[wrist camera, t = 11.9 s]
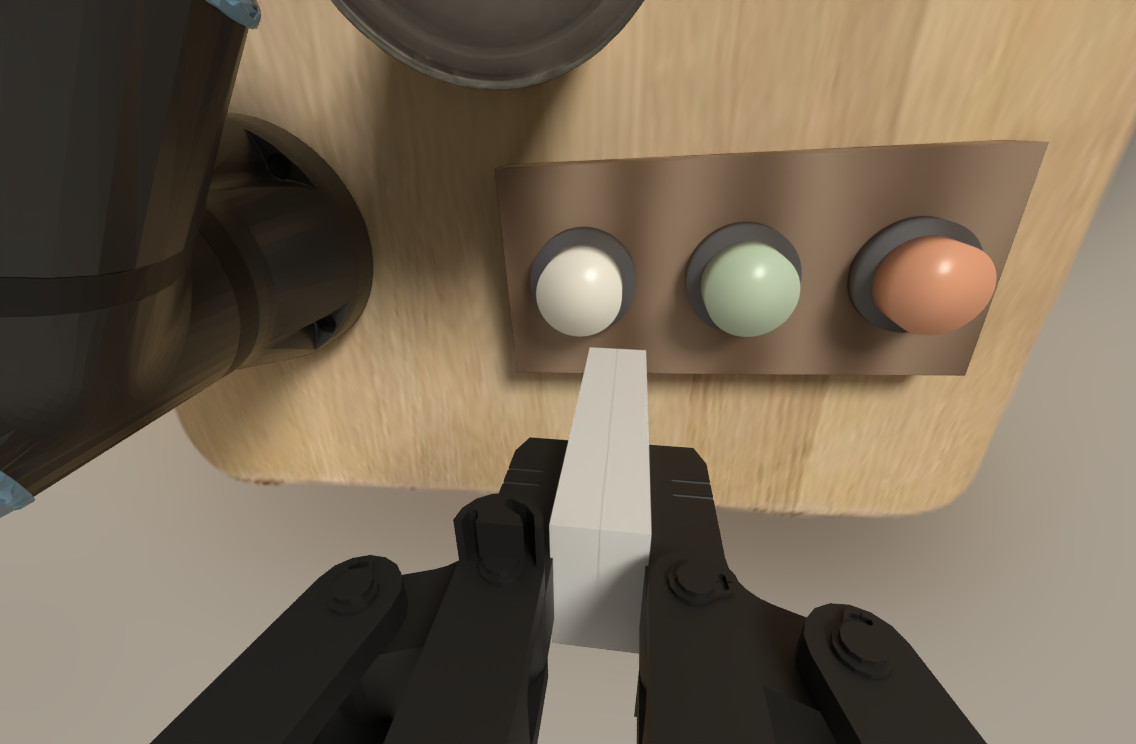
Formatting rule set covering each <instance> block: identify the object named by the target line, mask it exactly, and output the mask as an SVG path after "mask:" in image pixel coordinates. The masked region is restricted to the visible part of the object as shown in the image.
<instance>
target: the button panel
mask: <svg viewBox="0 0 1136 744" xmlns="http://www.w3.org/2000/svg"><path fill="white" fill-rule="evenodd" d="M1048 143H1049V142H1039V141H1016V140H993V141H973V142H953V143H933V144H913V145H893V146H872V147H852V148H832V149H812V150H792V151H772V152H751V153H731V154H711V155H691V156H671V157H651V158H630V159H610V160H590V161H570V162H550V163H530V164H509V165H505V166H502V167H499V168H496V169H495V177H496V186H497V195H498V204H499V213H500V222H501V231H502V240H503V249H504V258H505V267H506V275H507V284H508V293H509V302H510V311H511V320H512V329H513V338H514V347H515V356H516V365H517V372H546V373H584V371H585V366H586V362H587V357H588V353H589V349H590V347H591V348H611V349H630V350H646V364H647V373H683V374H820V375H957V376H965V374H966V372H967V369H968V366H969V363H970V360H971V358H972V355H973V352H974V349H975V346H976V344H977V341H978V338H979V335H980V333H981V330H982V327H983V324H984V321H985V319H986V316H987V313H988V310H989V307H990V305H991V302H992V299H993V296H994V293H995V291H996V288H997V285H998V282H999V280H1000V277H1001V274H1002V271H1003V268H1004V266H1005V263H1006V260H1007V257H1008V254H1009V252H1010V249H1011V246H1012V243H1013V241H1014V238H1015V235H1016V232H1017V229H1018V227H1019V224H1020V221H1021V218H1022V215H1023V213H1024V210H1025V207H1026V204H1027V202H1028V199H1029V196H1030V193H1031V190H1032V188H1033V185H1034V182H1035V179H1036V176H1037V174H1038V171H1039V168H1040V165H1041V163H1042V160H1043V157H1044V154H1045V151H1046V149H1047V146H1048ZM928 235H939V236H945V237H948V238H951V239H954V240H956V241H959V242H962V243H965V244H967V245H970V246H973V247H976V248H978V249H980V250H982V251H983V252H984V253H986V254H987V255H988V256H989V257H990V259H991V260H992V262H993V264H994V266H995V269H996V286H995V290H994V292H993V295H992V297H991V299H990V301H989V302H988V304H987V305H986V307H985V308H984V309H983V310H982V311H981V312H980V313H979V314H978V315H977V316H976V317H975V318H974V319H973V320H971V321H970V322H969V323H967V324H965V325H964V326H962V327H960V328H958V329H956V330H954V331H951V332H948V333H945V334H940V335H933V336H924V335H917V334H913V333H910V332H908V331H906V330H904V329H903V328H901V327H900V326H899V325H897V324H896V323H895V322H893V321H892V320H891V319H890V318H888V317H887V316H886V315H884V314H883V313H882V312H881V311H880V310H879V309H878V308H877V307H876V305H875V303H874V301H873V298H872V293H871V285H872V280H873V276H874V274H875V272H876V269H877V268H878V266H879V264H880V263H881V262H882V260H883V259H884V258H885V257H886V256H887V255H888V254H889V253H890V252H891V251H892V250H894V249H895V248H896V247H898V246H899V245H901V244H903V243H905V242H907V241H909V240H911V239H914V238H917V237H921V236H928ZM741 241H759V242H763V243H766V244H768V245H770V246H772V247H773V248H775V249H776V250H777V251H778V252H779V253H781V254H782V255H783V256H784V257H785V258H786V259H787V260H788V261H789V262H791V264H792V265H793V266H794V268H795V269H796V271H797V273H798V276H799V280H800V296H799V300H798V303H797V305H796V307H795V309H794V311H793V312H792V314H791V315H790V317H789V318H788V319H787V320H786V321H785V322H784V323H783V324H781V325H780V326H779V327H777V328H776V329H774V330H772V331H770V332H768V333H766V334H762V335H759V336H753V337H741V336H735V335H732V334H729V333H727V332H725V331H723V330H722V329H720V328H719V327H718V326H717V325H716V324H715V323H714V322H713V321H712V319H711V318H710V316H709V313H708V311H707V309H706V306H705V304H704V301H703V298H702V295H701V278H702V274H703V272H704V269H705V267H706V266H707V264H708V262H709V261H710V260H711V258H712V257H713V256H714V255H715V254H716V253H718V252H719V251H720V250H722V249H723V248H725V247H727V246H729V245H731V244H733V243H736V242H741ZM574 245H590V246H594V247H597V248H599V249H601V250H603V251H604V252H606V253H607V254H608V255H610V256H611V257H612V259H613V260H614V261H615V262H616V264H617V265H618V267H619V269H620V272H621V276H622V283H623V287H622V302H621V307H620V310H619V312H618V314H617V316H616V318H615V319H614V321H613V322H612V323H611V324H610V325H609V326H608V327H607V328H605V329H604V330H602V331H601V332H598V333H596V334H593V335H590V336H582V337H579V336H571V335H567V334H564V333H562V332H560V331H558V330H556V329H555V328H553V327H552V326H551V325H550V324H549V323H548V322H547V321H546V320H545V319H544V317H543V316H542V314H541V312H540V310H539V308H538V304H537V299H536V289H537V284H538V281H539V278H540V276H541V274H542V272H543V271H544V269H545V267H546V266H547V264H548V263H549V261H550V260H551V258H552V257H553V256H554V255H555V254H557V253H558V252H559V251H561V250H563V249H564V248H567V247H570V246H574Z"/></svg>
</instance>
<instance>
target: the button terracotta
mask: <svg viewBox="0 0 1136 744" xmlns="http://www.w3.org/2000/svg"><path fill="white" fill-rule="evenodd" d="M995 286H996V269H995V266H994V264H993V262H992V260H991V259H990V257H989V256H988V255H987V254H986V253H984V252H983V251H982V250H980V249H978V248H976V247H973V246H970V245H967V244H965V243H962V242H959V241H956V240H954V239H951V238H948V237H945V236H939V235H928V236H921V237H917V238H914V239H911V240H909V241H907V242H905V243H903V244H901V245H899V246H898V247H896V248H895V249H894V250H892V251H891V252H890V253H889V254H888V255H887V256H886V257H885V258H884V259H883V260H882V262H881V263H880V264H879V266H878V268H877V269H876V272H875V274H874V276H873V280H872V285H871V293H872V298H873V301H874V303H875V305H876V307H877V308H878V309H879V310H880V311H881V312H882V313H883V314H884V315H886V316H887V317H888V318H890V319H891V320H892V321H893V322H895V323H896V324H897V325H899V326H900V327H901V328H903V329H904V330H906V331H908V332H910V333H913V334H917V335H924V336H933V335H940V334H945V333H948V332H951V331H954V330H956V329H958V328H960V327H962V326H964V325H965V324H967V323H969V322H970V321H971V320H973V319H974V318H975V317H976V316H977V315H978V314H979V313H980V312H981V311H982V310H983V309H984V308H985V307H986V305H987V304H988V302H989V301H990V299H991V297H992V295H993V292H994V290H995Z"/></svg>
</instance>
